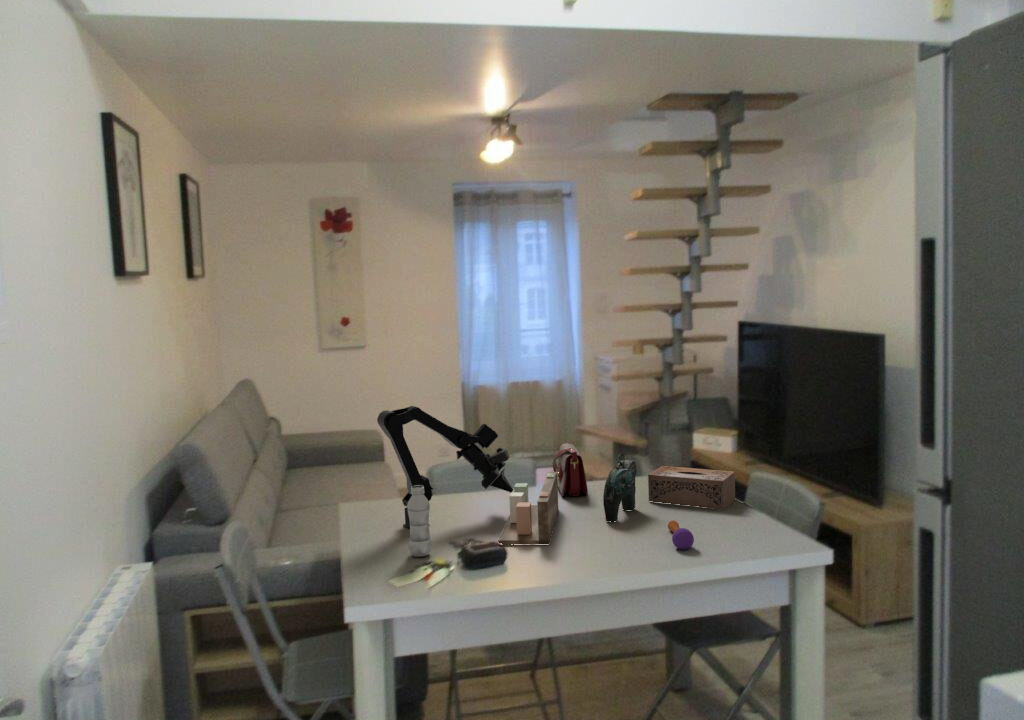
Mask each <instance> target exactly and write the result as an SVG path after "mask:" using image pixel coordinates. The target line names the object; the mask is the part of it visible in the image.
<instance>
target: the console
mask: <svg viewBox="0 0 1024 720" xmlns="http://www.w3.org/2000/svg"><path fill="white" fill-rule="evenodd" d="M558 491H559V488H558V484H557V472H554V471H547V474H546V477H545V479H544V483H543V485H542V487H541V491H540V493H539V496H538V499H537V502H536V505H535V504H534V505H533V504H531V515H532V532H531V534H530V535H517V523H510V515H509V516H508V517H507V520H506V523H505V524H504V526H503V529H502V531H501V533H500V535H499V537H498V539H497V543H498V542H499V543H502V544H503V545H502V546H515V545H514V544H549V543H551V540H552V536H551V535H553V533H552V531H553V532H554V529H553V528H554V527H555V525H554V524H556V521H555V520H557V517H556V516H558V513H557V512H559V493H558ZM550 539H551V540H550ZM511 544H513V545H511ZM549 545H550V544H549Z"/></svg>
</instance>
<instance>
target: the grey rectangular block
mask: <svg viewBox="0 0 1024 720" xmlns="http://www.w3.org/2000/svg"><path fill="white" fill-rule="evenodd" d="M518 502H524V492H514V491H512V492H510V494H509V516H510V523H517V518H516V506H517V503H518Z"/></svg>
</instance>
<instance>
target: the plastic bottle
mask: <svg viewBox="0 0 1024 720" xmlns="http://www.w3.org/2000/svg"><path fill="white" fill-rule="evenodd" d="M424 493H425V491H424V486H421V485H417V486H412V487H411V494H412V496H411V498H410V500H409V501H408V504H407V507H406V508H407V509H408V515H409V521H410V529H409V540H408V550H409V554H410V555H411V556H413V557H419V558H420V557H427V556H428V555H430V554H431V553H432V549H433V544H432V541H431V540H432V539H431V535H430V526H429V524H430V521H429V520H430V511H431V509H430V508H431V503H430V501H428V499H427V498H426V497H425V496H424Z"/></svg>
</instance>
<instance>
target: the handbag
mask: <svg viewBox="0 0 1024 720" xmlns="http://www.w3.org/2000/svg"><path fill="white" fill-rule="evenodd" d="M557 461H558V462H557ZM584 466H585V465H584V461H583V458H582V456H581V454H580V453H579V451H578V449H577V448H576V447H575V444H573V443H572V442H562V443H561V444H560V445H559V448H558V452H557V453H556V454H555V457H554V458H553V462H552V469H553V472H557V484H558V485H559V486H558V491H559V492H560V494H561V495H560V496H562V497H564V496H565V494H566V493H567V494H568V495H569V496H570V497H577V495H578V496H580V494H581V491H582V493H584V494H585V496H588V494H589V492H588V483H587V477H586V472H585V467H584Z"/></svg>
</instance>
